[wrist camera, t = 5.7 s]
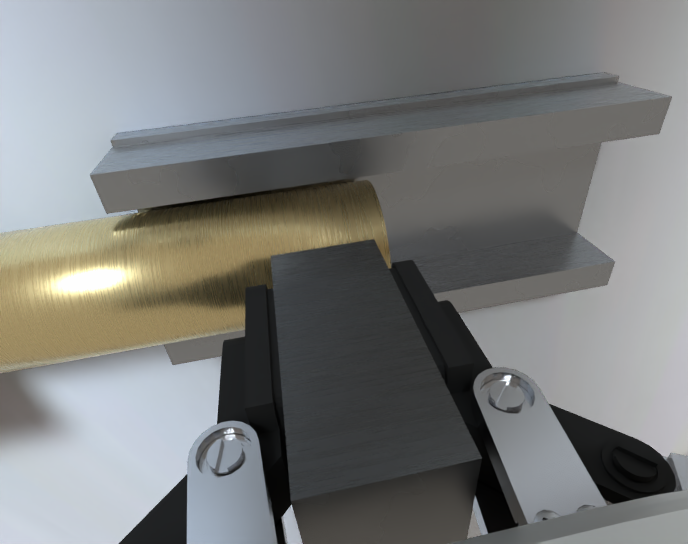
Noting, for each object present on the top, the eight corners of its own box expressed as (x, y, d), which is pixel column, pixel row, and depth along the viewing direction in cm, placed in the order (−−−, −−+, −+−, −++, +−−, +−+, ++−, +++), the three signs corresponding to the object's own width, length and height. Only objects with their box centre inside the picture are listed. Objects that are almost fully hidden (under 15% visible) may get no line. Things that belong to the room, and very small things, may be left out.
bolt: (-265, 248, 13) (-1407, 843, 4) (357, 161, 16) (519, 424, 6) (-160, 348, 16) (-727, 859, 7) (363, 261, 18) (485, 555, 9)
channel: (116, 133, 14) (86, 167, 12) (604, 72, 16) (674, 89, 14) (184, 314, 19) (174, 368, 16) (560, 249, 21) (605, 288, 18)
